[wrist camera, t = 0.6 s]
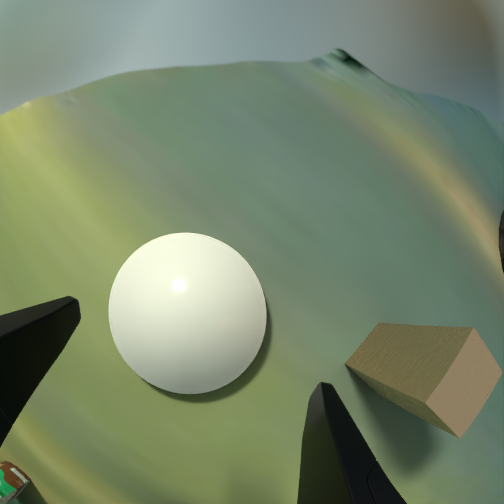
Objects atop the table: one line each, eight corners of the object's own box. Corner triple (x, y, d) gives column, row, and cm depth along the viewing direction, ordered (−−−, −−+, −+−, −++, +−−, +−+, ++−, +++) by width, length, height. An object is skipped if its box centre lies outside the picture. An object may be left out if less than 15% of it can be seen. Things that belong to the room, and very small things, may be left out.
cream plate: (292, 351, 24) (294, 353, 23) (153, 409, 22) (150, 413, 21) (223, 211, 26) (222, 206, 25) (94, 274, 24) (89, 273, 23)
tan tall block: (376, 392, 23) (460, 438, 10) (344, 363, 24) (424, 402, 11) (408, 353, 24) (502, 372, 11) (378, 322, 24) (473, 327, 12)
